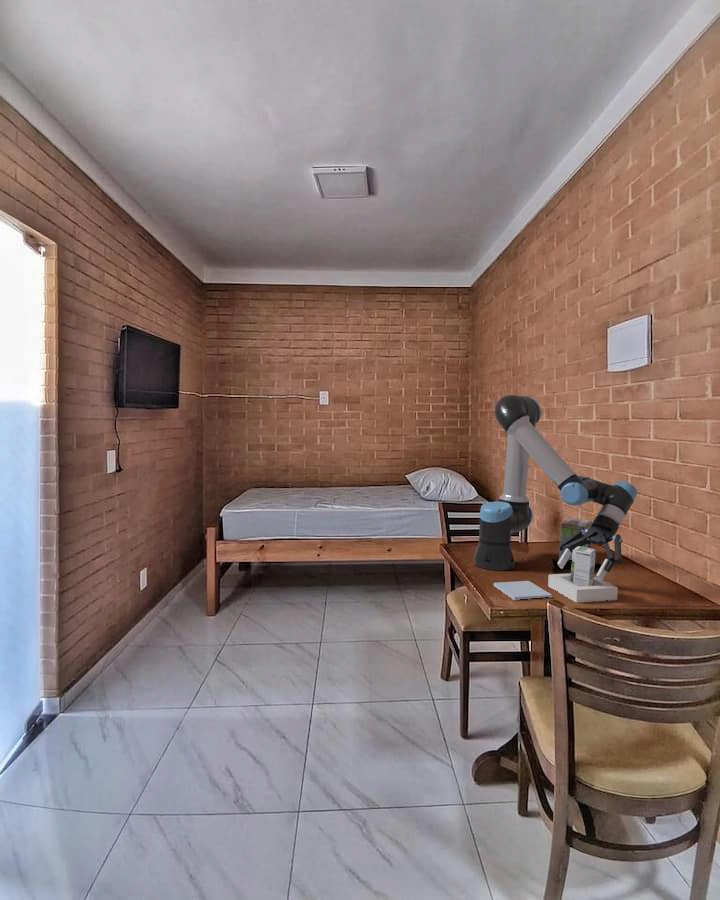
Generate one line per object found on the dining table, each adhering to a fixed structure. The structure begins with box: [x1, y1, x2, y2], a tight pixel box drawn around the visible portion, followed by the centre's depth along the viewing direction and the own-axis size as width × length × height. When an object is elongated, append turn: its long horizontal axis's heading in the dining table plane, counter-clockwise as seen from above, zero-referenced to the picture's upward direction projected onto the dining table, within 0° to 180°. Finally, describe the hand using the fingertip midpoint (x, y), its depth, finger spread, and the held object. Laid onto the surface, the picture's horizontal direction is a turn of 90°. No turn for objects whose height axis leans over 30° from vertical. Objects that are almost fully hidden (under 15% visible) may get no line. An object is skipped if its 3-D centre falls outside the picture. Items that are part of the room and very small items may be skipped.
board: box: [493, 580, 553, 601], centre depth 156 cm, size 13×13×1 cm
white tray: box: [547, 572, 619, 604], centre depth 157 cm, size 14×14×4 cm
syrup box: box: [570, 546, 597, 587], centre depth 156 cm, size 6×6×14 cm
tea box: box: [558, 517, 593, 561], centre depth 198 cm, size 15×10×15 cm
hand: (578, 572), depth 155 cm, fingers open, 13 cm apart
